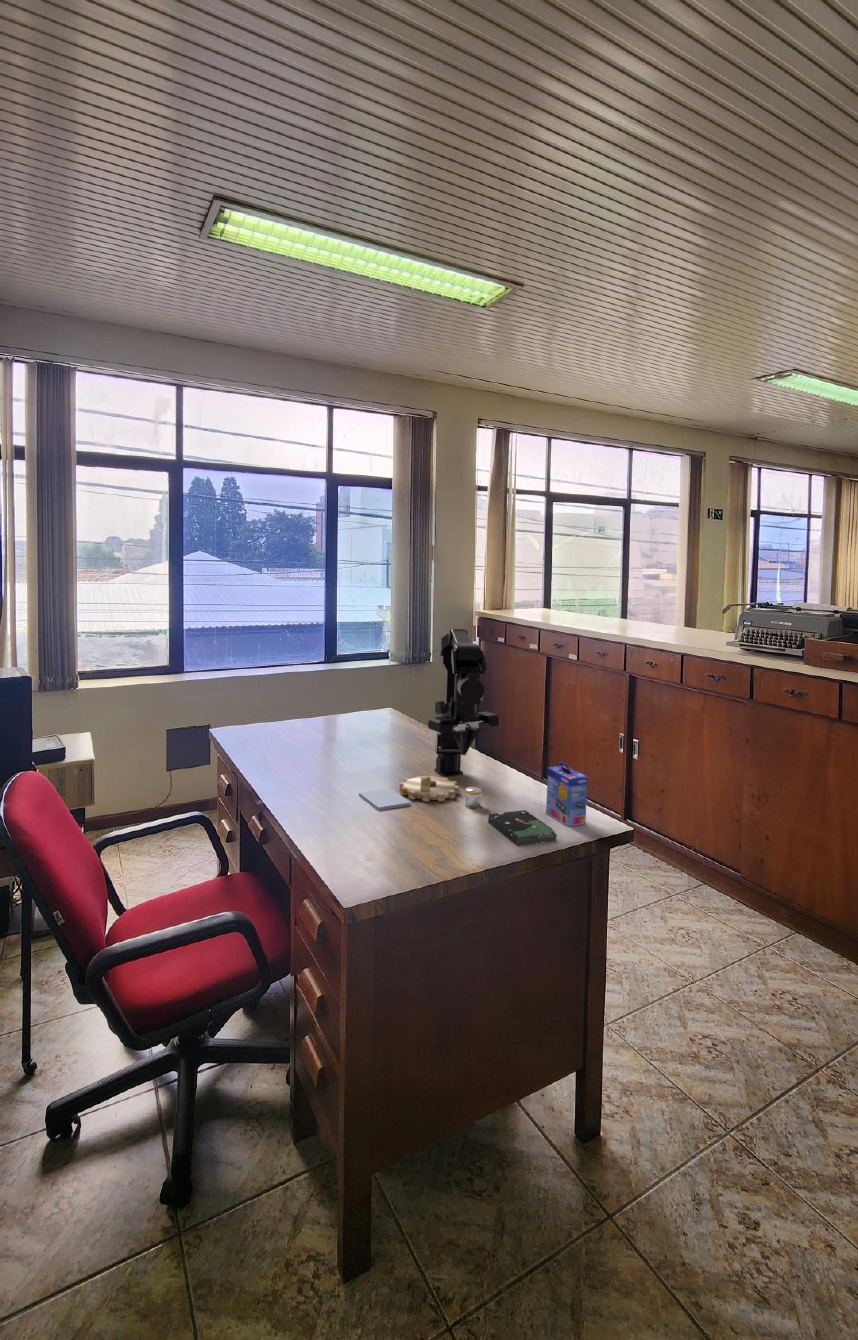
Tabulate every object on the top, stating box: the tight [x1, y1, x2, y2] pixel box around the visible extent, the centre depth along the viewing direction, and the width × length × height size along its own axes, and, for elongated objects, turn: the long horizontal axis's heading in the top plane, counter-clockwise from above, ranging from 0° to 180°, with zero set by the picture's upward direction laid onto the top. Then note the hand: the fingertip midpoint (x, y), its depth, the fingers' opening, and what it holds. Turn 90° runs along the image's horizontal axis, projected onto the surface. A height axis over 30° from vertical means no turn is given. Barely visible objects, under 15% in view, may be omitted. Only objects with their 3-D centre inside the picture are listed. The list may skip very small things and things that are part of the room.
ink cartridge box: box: [545, 761, 588, 827], centre depth 165 cm, size 10×6×14 cm, turn 24°
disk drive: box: [487, 809, 557, 847], centre depth 157 cm, size 10×3×15 cm
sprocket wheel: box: [399, 775, 460, 802], centre depth 182 cm, size 16×16×5 cm
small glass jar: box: [464, 786, 483, 810], centre depth 172 cm, size 4×4×4 cm
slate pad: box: [358, 788, 411, 811], centre depth 175 cm, size 9×12×1 cm
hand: (463, 754), depth 171 cm, fingers closed
